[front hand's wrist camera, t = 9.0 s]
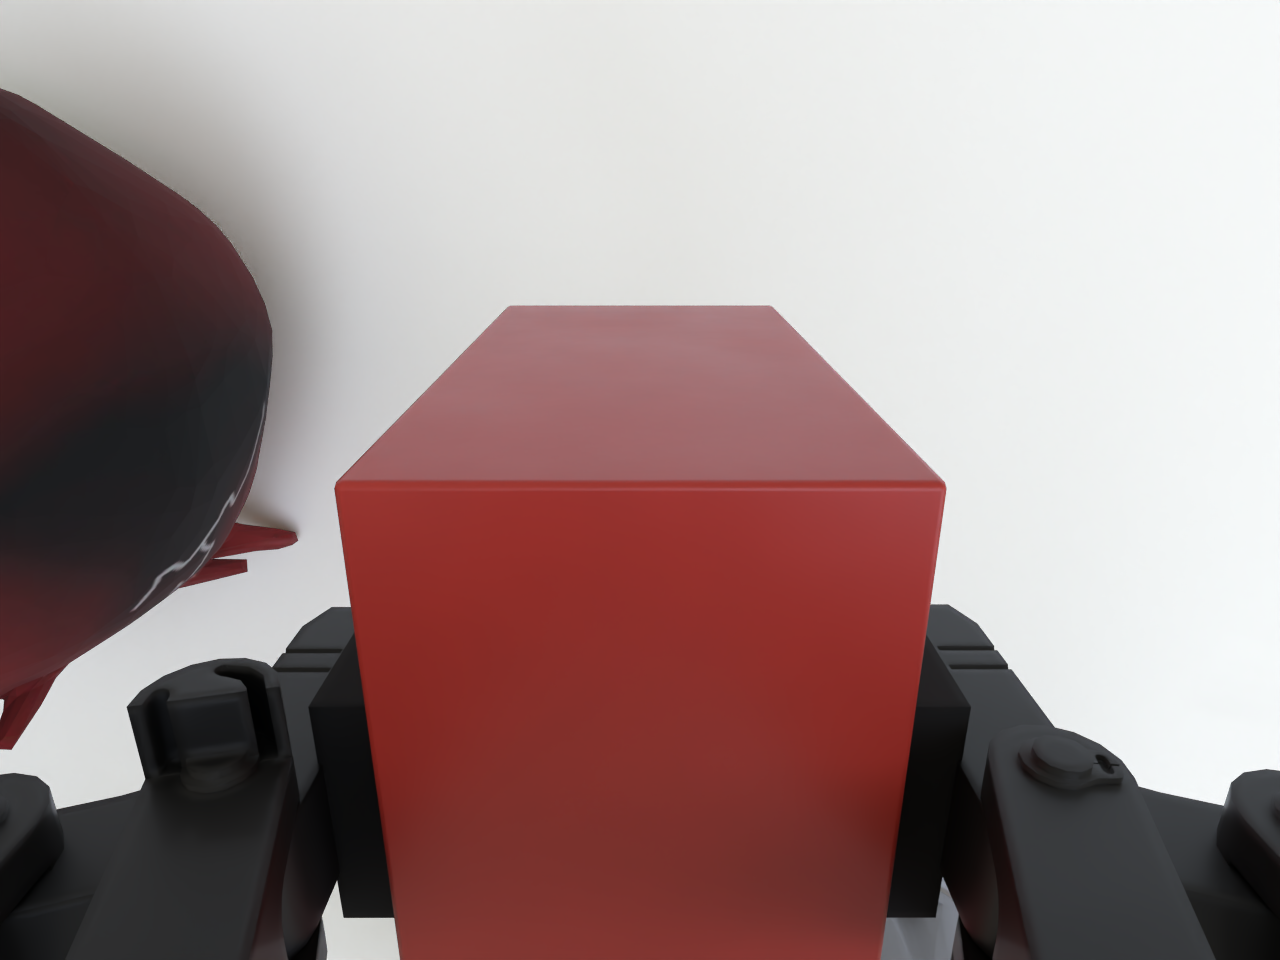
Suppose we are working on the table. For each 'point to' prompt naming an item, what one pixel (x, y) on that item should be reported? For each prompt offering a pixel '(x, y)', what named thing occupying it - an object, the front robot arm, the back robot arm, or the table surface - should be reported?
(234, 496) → the dark red round lump
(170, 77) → the table surface
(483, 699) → the brick
